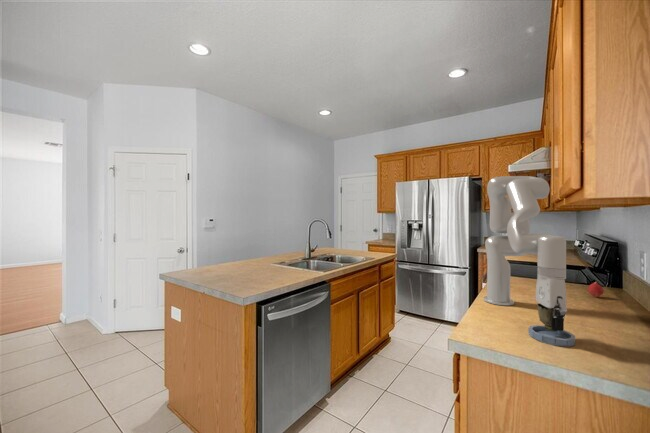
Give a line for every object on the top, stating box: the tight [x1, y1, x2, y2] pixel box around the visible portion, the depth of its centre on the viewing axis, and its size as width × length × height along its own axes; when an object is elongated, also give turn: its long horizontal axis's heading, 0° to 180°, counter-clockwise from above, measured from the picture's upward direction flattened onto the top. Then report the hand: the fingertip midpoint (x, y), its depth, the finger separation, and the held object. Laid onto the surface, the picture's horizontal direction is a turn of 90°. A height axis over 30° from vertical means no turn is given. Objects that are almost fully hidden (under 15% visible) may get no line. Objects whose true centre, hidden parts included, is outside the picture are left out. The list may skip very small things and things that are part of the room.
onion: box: [587, 281, 605, 298], centre depth 144 cm, size 6×6×8 cm
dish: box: [528, 324, 576, 348], centre depth 95 cm, size 12×12×2 cm
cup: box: [536, 303, 566, 331], centre depth 95 cm, size 8×7×8 cm
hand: (551, 325), depth 95 cm, fingers closed on cup, 6 cm apart
